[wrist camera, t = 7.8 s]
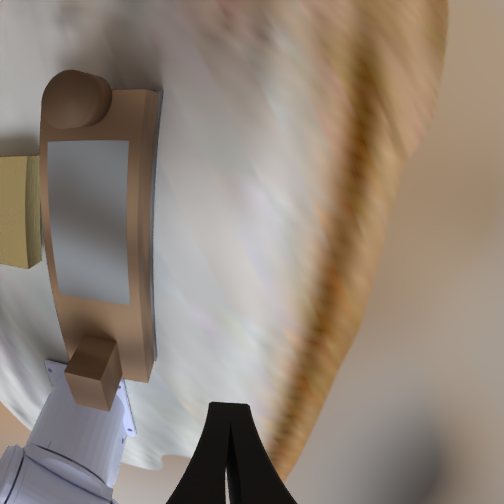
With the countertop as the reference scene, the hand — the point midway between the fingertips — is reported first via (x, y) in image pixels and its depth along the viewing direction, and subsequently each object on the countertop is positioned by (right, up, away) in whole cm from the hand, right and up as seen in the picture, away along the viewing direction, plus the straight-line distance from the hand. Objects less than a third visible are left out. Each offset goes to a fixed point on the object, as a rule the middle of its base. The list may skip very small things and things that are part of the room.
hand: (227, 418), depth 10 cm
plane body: (-8, +7, +8) cm, 13 cm away
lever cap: (-15, +9, +4) cm, 18 cm away
